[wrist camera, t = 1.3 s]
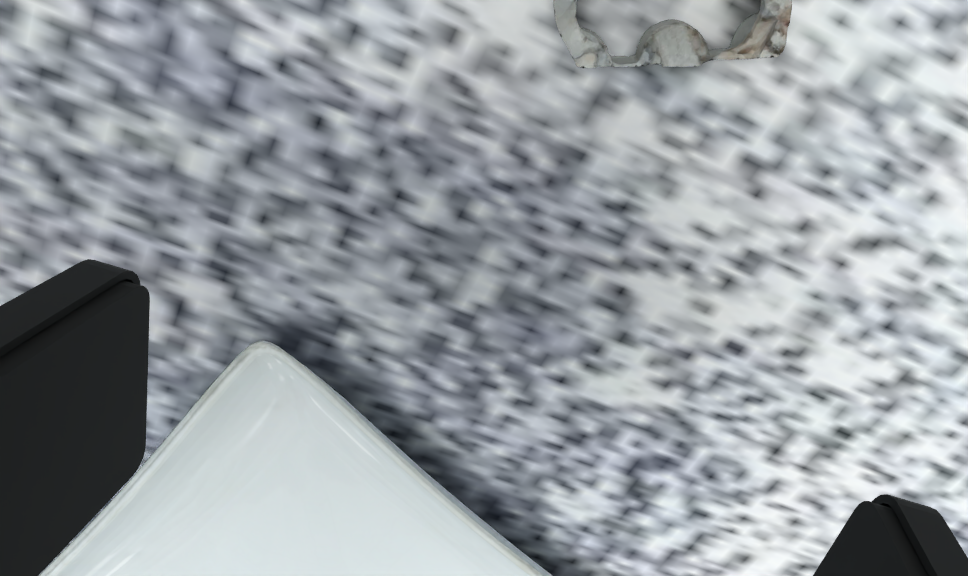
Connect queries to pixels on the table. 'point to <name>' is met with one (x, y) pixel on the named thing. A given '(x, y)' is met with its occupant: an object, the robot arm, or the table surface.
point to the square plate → (284, 494)
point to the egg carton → (678, 39)
